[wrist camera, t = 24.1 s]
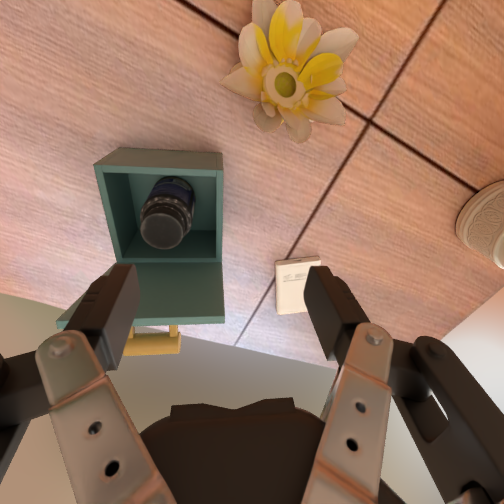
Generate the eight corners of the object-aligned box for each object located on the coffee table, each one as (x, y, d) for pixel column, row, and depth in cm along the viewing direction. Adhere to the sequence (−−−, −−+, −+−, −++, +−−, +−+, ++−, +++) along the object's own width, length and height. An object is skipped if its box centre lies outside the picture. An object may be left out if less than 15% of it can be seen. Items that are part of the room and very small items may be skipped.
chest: (118, 147, 35) (92, 164, 28) (222, 152, 37) (223, 170, 29) (134, 231, 42) (116, 263, 34) (221, 232, 43) (221, 262, 36)
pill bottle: (144, 186, 37) (120, 220, 28) (181, 167, 36) (170, 196, 27) (168, 221, 41) (154, 262, 31) (203, 205, 40) (200, 242, 31)
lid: (55, 320, 21) (66, 372, 23) (224, 315, 23) (224, 364, 25) (115, 262, 34) (119, 298, 35) (221, 261, 36) (221, 296, 37)
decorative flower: (377, 51, 31) (409, 65, 24) (318, 138, 38) (328, 169, 31) (266, -36, 27) (263, -52, 19) (222, 80, 34) (208, 100, 26)
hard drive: (275, 309, 55) (274, 260, 48) (314, 304, 55) (318, 255, 48) (277, 315, 53) (276, 266, 46) (317, 310, 54) (321, 260, 47)
